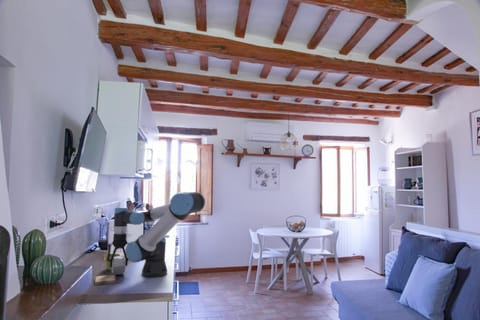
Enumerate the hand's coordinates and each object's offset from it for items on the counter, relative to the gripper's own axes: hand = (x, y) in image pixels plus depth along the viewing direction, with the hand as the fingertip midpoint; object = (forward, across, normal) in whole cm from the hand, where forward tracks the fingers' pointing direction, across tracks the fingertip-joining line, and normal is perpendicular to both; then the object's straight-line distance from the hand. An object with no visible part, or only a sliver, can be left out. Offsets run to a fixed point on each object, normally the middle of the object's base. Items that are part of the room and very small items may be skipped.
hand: (118, 271), depth 193 cm
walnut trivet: (+2, +7, +10) cm, 12 cm away
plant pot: (+2, +3, -14) cm, 15 cm away
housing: (0, 0, 0) cm, 0 cm away
